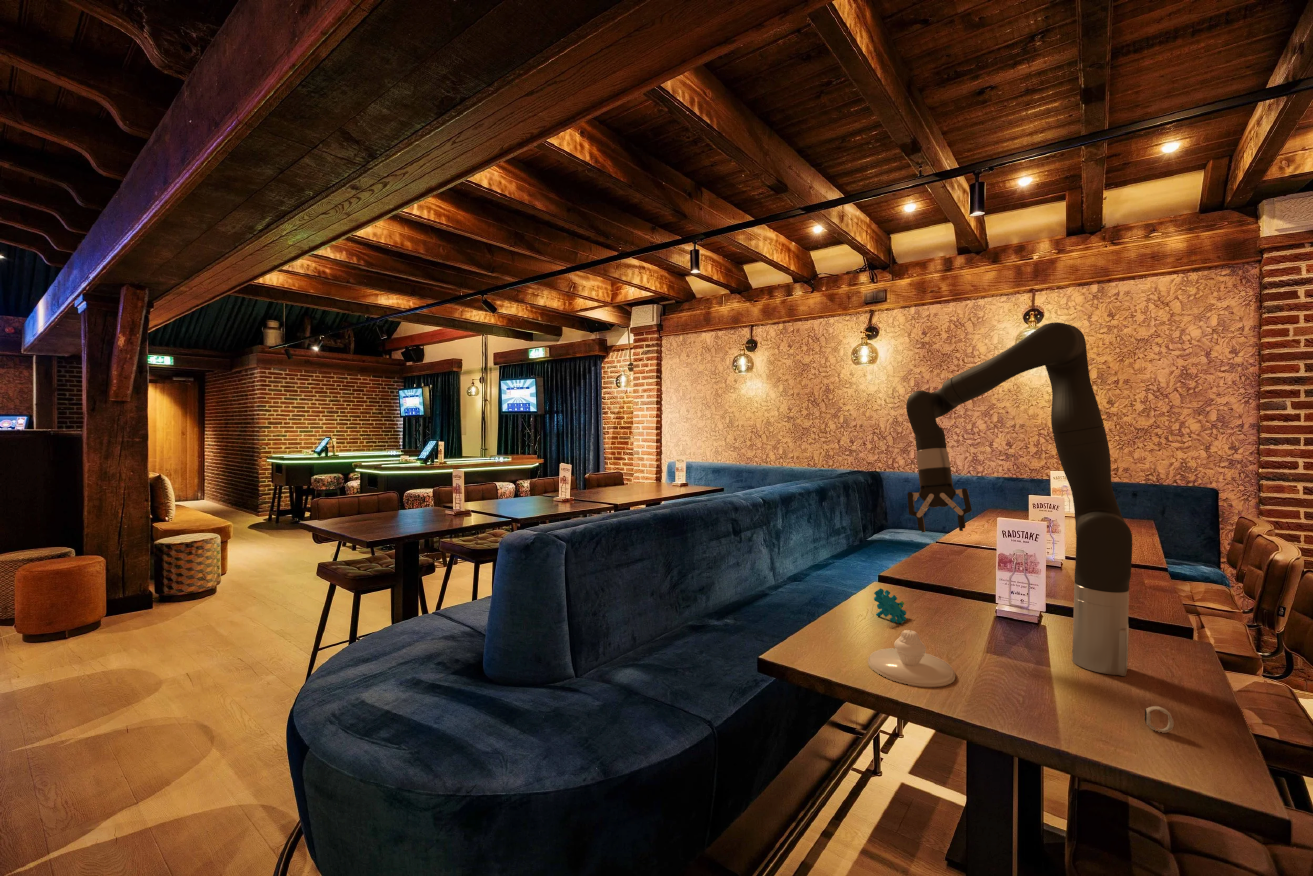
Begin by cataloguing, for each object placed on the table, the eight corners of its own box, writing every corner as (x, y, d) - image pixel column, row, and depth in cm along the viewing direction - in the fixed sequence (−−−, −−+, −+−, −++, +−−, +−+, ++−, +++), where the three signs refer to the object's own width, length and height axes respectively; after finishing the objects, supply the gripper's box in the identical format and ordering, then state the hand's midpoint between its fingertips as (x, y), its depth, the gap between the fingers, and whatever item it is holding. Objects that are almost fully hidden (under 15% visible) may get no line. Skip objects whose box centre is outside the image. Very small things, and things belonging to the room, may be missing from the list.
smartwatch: (1172, 732, 96) (1172, 708, 96) (1174, 737, 94) (1174, 713, 94) (1144, 725, 98) (1144, 702, 98) (1145, 730, 96) (1146, 707, 96)
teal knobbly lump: (891, 622, 143) (870, 587, 150) (875, 633, 147) (855, 599, 153) (917, 620, 149) (896, 587, 156) (901, 631, 153) (881, 598, 159)
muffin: (915, 671, 115) (916, 637, 115) (887, 661, 120) (888, 628, 120) (931, 664, 119) (932, 631, 119) (904, 654, 124) (904, 622, 124)
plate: (965, 668, 120) (965, 662, 120) (940, 695, 108) (941, 689, 108) (885, 646, 131) (885, 641, 131) (854, 669, 119) (854, 663, 119)
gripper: (901, 469, 146) (909, 533, 143) (964, 463, 138) (973, 530, 136) (906, 471, 152) (913, 532, 149) (965, 466, 145) (975, 530, 142)
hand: (942, 531), depth 142 cm, fingers open, 8 cm apart
